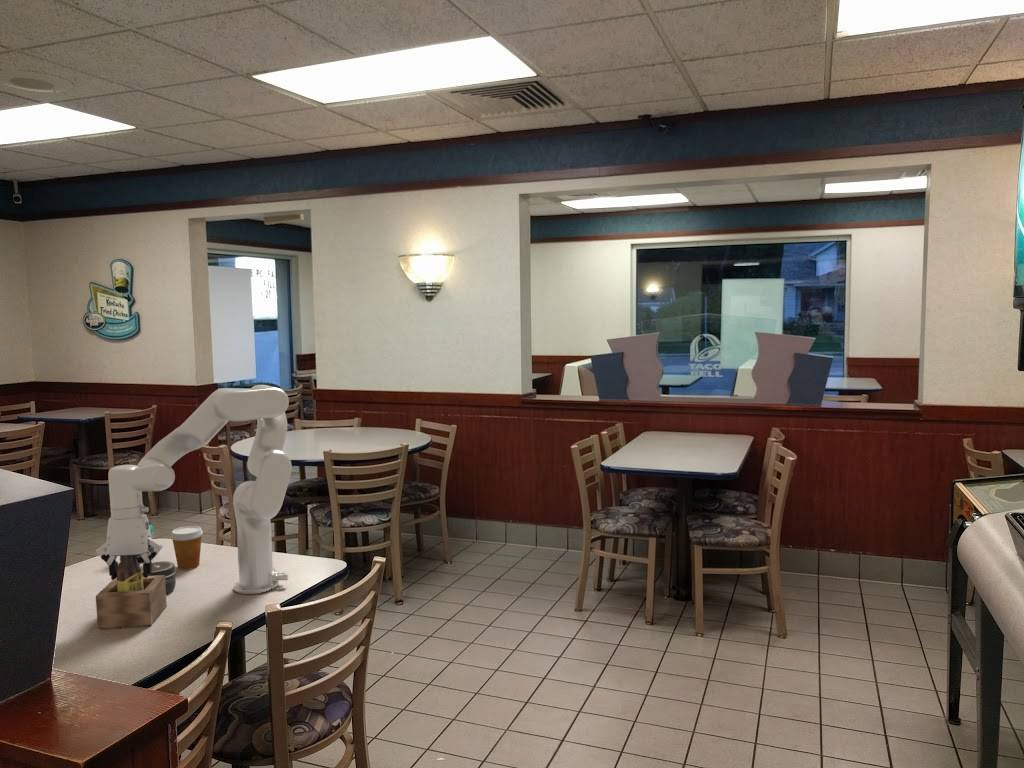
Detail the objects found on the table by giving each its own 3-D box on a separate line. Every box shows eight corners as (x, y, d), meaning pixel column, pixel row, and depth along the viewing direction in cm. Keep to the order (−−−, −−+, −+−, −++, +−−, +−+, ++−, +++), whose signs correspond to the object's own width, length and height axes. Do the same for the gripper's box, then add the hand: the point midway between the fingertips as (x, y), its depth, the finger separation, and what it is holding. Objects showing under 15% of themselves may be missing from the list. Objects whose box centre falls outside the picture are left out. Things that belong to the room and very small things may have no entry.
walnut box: (166, 606, 206) (164, 575, 205) (151, 626, 193) (149, 592, 192) (116, 609, 204) (114, 577, 203) (97, 629, 191) (95, 596, 190)
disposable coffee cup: (197, 571, 233) (195, 534, 232) (166, 571, 233) (164, 534, 232) (209, 561, 243) (207, 525, 241) (180, 561, 243) (178, 525, 241)
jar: (158, 583, 223) (157, 559, 222) (184, 587, 220) (182, 562, 219) (130, 595, 214) (129, 570, 213) (157, 600, 210) (155, 574, 210)
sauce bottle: (135, 621, 195) (127, 547, 193) (114, 620, 196) (106, 547, 194) (151, 611, 201) (144, 539, 199) (131, 610, 202) (123, 539, 200)
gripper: (166, 506, 201) (170, 570, 202) (97, 510, 198) (101, 574, 200) (157, 514, 193) (161, 580, 195) (85, 517, 191) (90, 584, 192)
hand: (131, 576), depth 197 cm, fingers open, 7 cm apart
